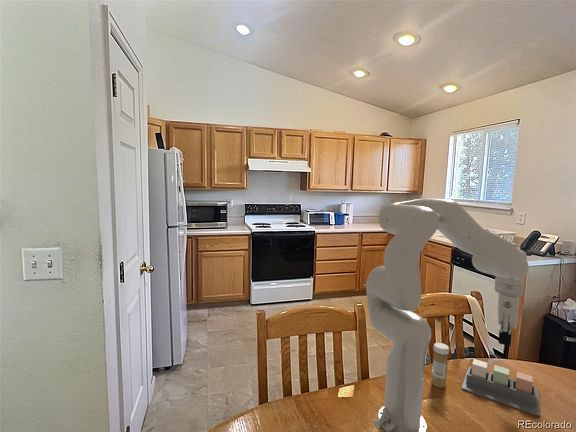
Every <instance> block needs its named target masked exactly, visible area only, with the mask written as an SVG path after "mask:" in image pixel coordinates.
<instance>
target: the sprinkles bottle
mask: <svg viewBox="0 0 576 432" xmlns="http://www.w3.org/2000/svg"><path fill="white" fill-rule="evenodd" d="M449 353H450V348H449V346H448V345H447V344H445V343H442V342H436V343H434V344H433V356H432V357H433V359H432V371H431V372H432V373H431V374H432V376H431V384H432V385H433V386H434V387H436V388H440V389H444V388H446V387H447V378H448V377H447V376H448V360H449Z"/></svg>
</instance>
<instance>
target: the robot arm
mask: <svg viewBox="0 0 576 432" xmlns="http://www.w3.org/2000/svg"><path fill="white" fill-rule="evenodd" d="M378 222H379V223H378V224H379V225H380V227H381V229H382V230H383V231H384V232H386V233H388V234H391V235H394V236H393V237H392V238H391V240H390V241H389V242H388V244H387V246H386V248H385V250H384V253H383V256H384V258H383V262H384V264H383V265H379V266H378V265H377V266H376V267H375V268H373V269H372V270H371V271H370V272H369V274H368V276H367V278H366V282H365V289H366V299H367V307H368V308H367V309H368V317H369V320H370V323H371V325H372V327H373V328H374V329H375V330H376V331H377V332H378V333H380V334H381V335H383V336H384V337H385V338H387V339H388V340H390V341H391V342H392V343H393V347H392V349H391V350H390V351H389V353H388V355H387V358H386V372H385V386H384V387H385V388H384V404H383V405H384V406H382V407H381V408H380V409H379V410H378V412H377V418H376V419H375V420H374V421H373V427H374V428H375V429H377V430H378V429H380V428H382V429H383V430H384V431H385V432H427V428H428V427H427V426H428V425H427V423H426V420H425V419H424V417H423V416H422V409H423V408H422V407H423V391H424V381H425V379H424V378H425V365H426V357H427V352H428V349H429V345H430V342H431V338H432V329H431V326H430V325H429V324H430V323H428V322H427V321H426V319H425V318H424V317H422V316H420V315H419V314H418V313H415V312H413V311H416V310H417V309H418V308H419V306H420V305H421V302H422V285H421V284H422V281H421V271H420V257H421V254H422V253H421V252H422V250H423V248H424V247H425V245H426V244H427V243H428V242H429V240H431V238H432V237H433V236H434V235H435V234H436V231H439V232H440V233H441V234H442V235H443V236H445V237H446V238H447V240H448V241H450V242H451V243H452V244H453V246H455V247H456V248H457V249H458V250H460V251H463V252H465V253H467V254H469V255H471V256H472V258H471V263H472V266H473V267H474V268H475V269H476V270H477V271H479V272H481V273H483V274H488V275H492V276H495V279H494V292H495V293H496V294H497V293H498V302H497V325H500V329H499V330H498V344H500V345H504V346H508V347H511V343H512V333H513V332H512V328H514V329H516V328H518V320H519V307H520V297H523V296H524V292H525V284H526V283H525V280H526V276H527V275H528V273H529V268H530V267H529V261H528V260H527V259H528V258H527V257H528V256H527V253H526V252H525V250H523V249H518V247H516V246H515V245H514V244H512V243H511V242H510V241H508V240H506V239H505V238H502V237H500V236H499V235H498V234H497V235H496V234H495V233H494V232H492V231H490V230H488V229H486V228H483V227H482V226H481V225H480V224H479V223H478V222H477V221H476V220H475V219H474V218H473V217H472V216H471V215H470V213H468V212H467V210H465V209H464V208H463V206H461V205H460V204H459V203H458V202H456V201H455V200H452V199H446V198H433V197H432V198H430V197H429V198H427V197H426V198H425V197H424V198H417V199H412V200H405V201H400V202H393V203H390V204H389V203H388V204H387V205H386V206H384V207H383V208H381V211H380V212H379V216H378Z"/></svg>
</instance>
